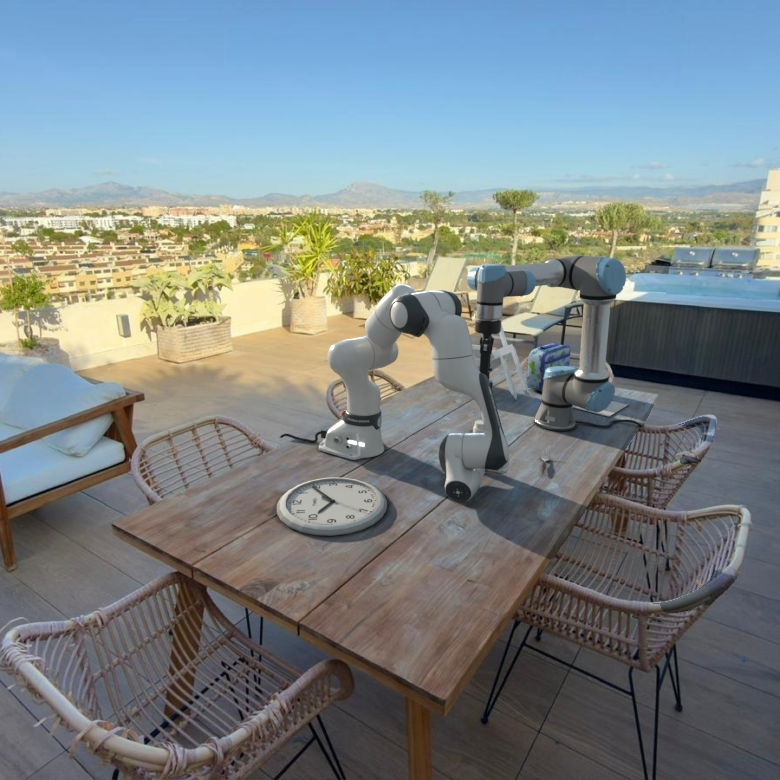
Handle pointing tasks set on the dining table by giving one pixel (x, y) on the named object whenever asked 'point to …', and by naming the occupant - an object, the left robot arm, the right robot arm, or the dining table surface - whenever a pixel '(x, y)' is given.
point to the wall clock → (331, 506)
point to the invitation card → (608, 408)
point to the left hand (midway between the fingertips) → (479, 450)
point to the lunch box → (545, 363)
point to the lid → (491, 382)
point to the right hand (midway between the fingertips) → (483, 394)
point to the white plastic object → (503, 362)
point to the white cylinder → (479, 427)
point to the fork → (545, 460)
